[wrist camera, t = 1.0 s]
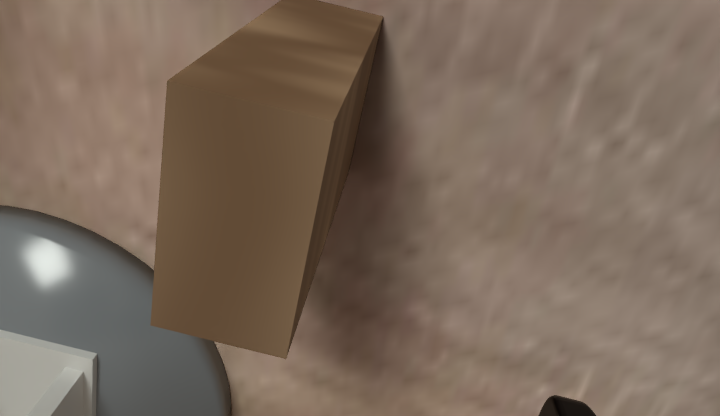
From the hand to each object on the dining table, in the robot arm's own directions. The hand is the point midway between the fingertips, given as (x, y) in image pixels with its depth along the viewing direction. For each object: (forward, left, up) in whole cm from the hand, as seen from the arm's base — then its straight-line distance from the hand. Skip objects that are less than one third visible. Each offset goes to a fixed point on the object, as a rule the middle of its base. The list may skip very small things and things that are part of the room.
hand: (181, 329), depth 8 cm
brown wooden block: (0, 0, -10) cm, 10 cm away
